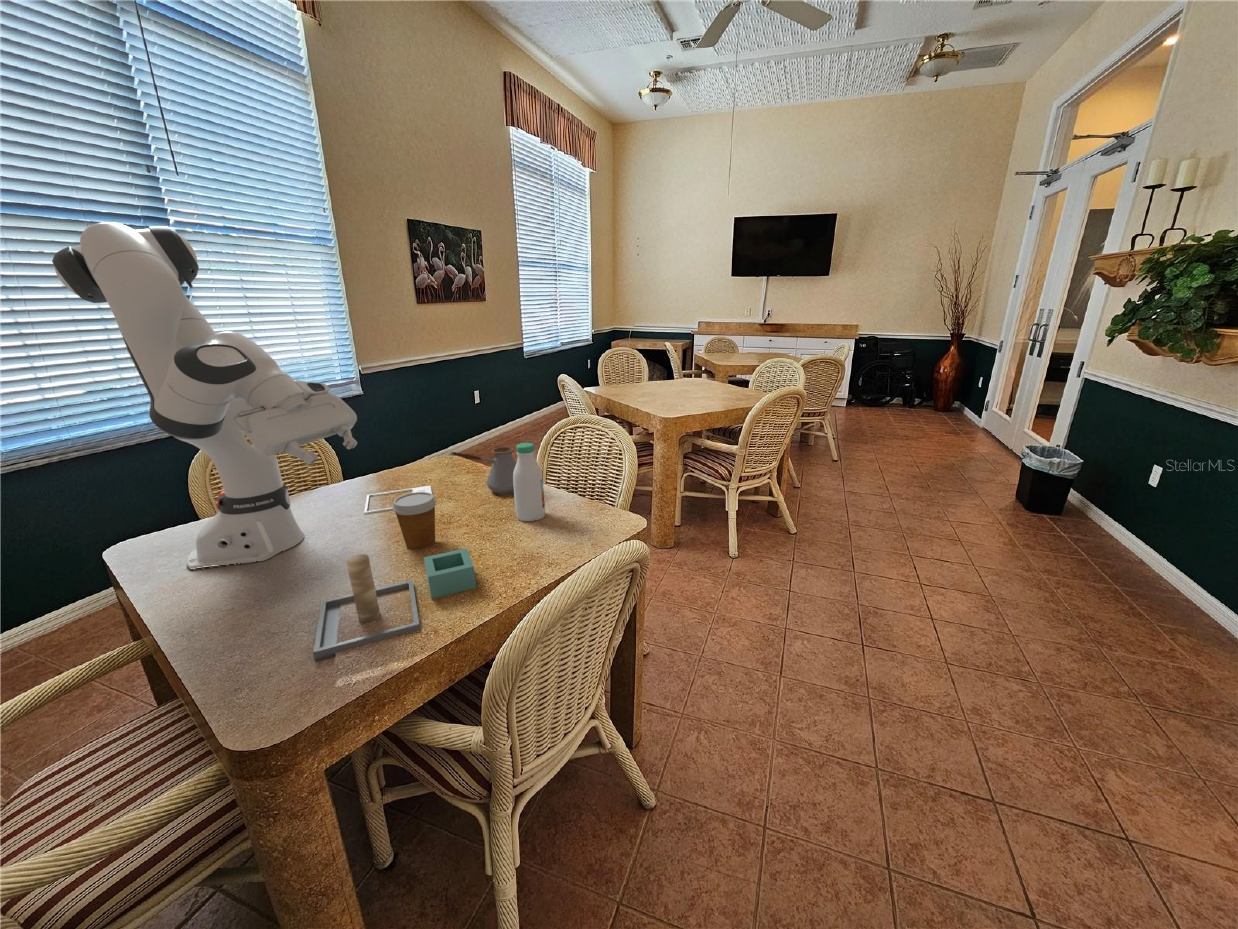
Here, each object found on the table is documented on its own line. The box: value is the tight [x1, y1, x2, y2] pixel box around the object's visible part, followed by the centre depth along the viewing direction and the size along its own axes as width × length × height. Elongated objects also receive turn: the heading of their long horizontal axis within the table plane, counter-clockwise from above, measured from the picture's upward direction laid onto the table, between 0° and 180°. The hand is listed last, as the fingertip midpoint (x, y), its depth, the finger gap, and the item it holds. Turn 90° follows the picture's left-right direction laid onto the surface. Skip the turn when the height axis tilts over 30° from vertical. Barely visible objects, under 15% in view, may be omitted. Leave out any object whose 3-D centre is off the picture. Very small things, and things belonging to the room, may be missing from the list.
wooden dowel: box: [345, 553, 381, 624], centre depth 88 cm, size 4×4×12 cm
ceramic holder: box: [423, 548, 477, 600], centre depth 99 cm, size 8×8×6 cm
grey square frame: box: [312, 579, 421, 662], centre depth 89 cm, size 16×16×2 cm
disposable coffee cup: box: [391, 492, 437, 550], centre depth 115 cm, size 10×10×12 cm
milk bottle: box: [513, 442, 546, 522], centre depth 129 cm, size 8×8×20 cm
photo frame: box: [363, 485, 433, 515], centre depth 145 cm, size 15×1×18 cm
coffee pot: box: [449, 446, 517, 495], centre depth 146 cm, size 21×12×15 cm, turn 125°
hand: (334, 453), depth 95 cm, fingers open, 8 cm apart
